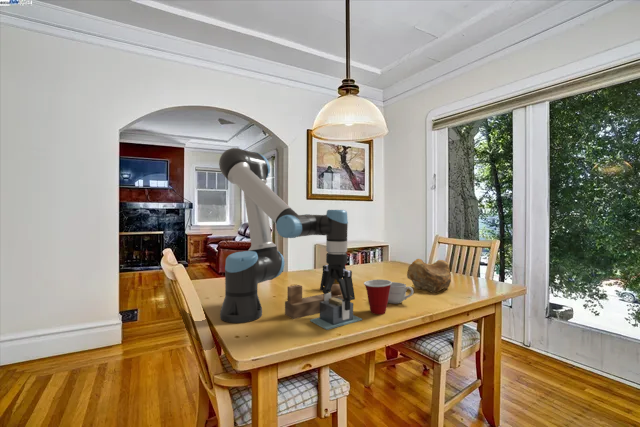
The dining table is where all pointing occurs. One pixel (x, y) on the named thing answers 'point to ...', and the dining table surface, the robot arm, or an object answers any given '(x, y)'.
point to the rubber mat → (330, 326)
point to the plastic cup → (378, 295)
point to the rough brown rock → (429, 275)
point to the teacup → (398, 292)
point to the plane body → (306, 301)
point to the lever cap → (334, 311)
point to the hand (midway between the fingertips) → (336, 314)
